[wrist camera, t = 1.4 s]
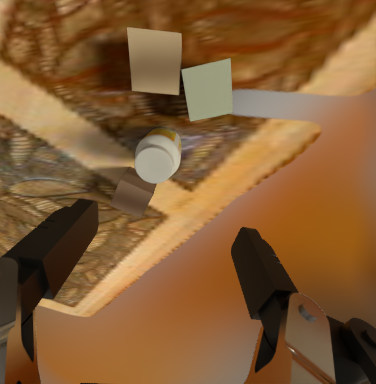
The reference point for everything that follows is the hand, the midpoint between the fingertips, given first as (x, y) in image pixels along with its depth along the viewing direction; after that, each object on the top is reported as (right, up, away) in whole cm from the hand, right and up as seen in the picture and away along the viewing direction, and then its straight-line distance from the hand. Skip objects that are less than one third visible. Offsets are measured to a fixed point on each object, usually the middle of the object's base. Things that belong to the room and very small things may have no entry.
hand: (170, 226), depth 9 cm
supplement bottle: (-3, +9, +16) cm, 19 cm away
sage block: (+3, +15, +13) cm, 20 cm away
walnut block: (-8, +3, +20) cm, 21 cm away
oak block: (-2, +17, +12) cm, 21 cm away
